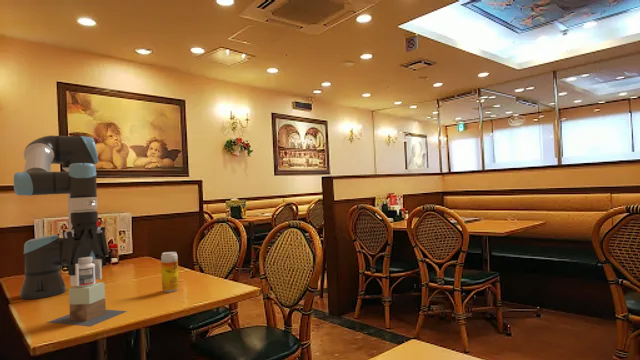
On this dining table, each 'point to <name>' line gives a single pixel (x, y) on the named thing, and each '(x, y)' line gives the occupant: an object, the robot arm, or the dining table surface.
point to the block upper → (86, 294)
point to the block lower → (87, 310)
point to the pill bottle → (86, 272)
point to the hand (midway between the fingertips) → (86, 282)
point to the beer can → (169, 271)
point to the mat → (91, 322)
